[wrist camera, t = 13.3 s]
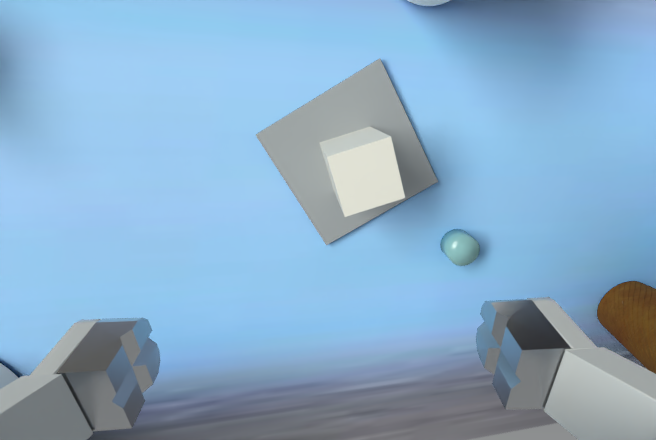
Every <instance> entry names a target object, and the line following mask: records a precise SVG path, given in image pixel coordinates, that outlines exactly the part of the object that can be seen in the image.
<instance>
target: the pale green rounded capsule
mask: <svg viewBox="0 0 656 440" xmlns="http://www.w3.org/2000/svg"><path fill="white" fill-rule="evenodd" d="M441 250H442V251H443V253H444V254H445V255H446V256H447V257H448V258H449V259H450V260H451V261H452V262H453V263H454V264H456V265H459V266H465V265H468V264H470V263H472V262H473V261H474V260H475V259H476V258H477V256H478V254H479V250H480V248H479V244H478V242H477V241H476V240H475V239H473V238H472V237H471V236H470V235H469V234H467V233H466V232H465V231H463V230H460V229H454V230H451V231H449V232H447V233H446V234H445V235H444V236H443V238H442V240H441Z"/></svg>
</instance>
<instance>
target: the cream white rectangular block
mask: <svg viewBox="0 0 656 440" xmlns="http://www.w3.org/2000/svg"><path fill="white" fill-rule="evenodd" d="M320 147H321V150H322V153H323V157H324V160H325V163H326V166H327V170H328V173H329V176H330V179H331V183H332V186H333V189H334V192H335V195H336V197H337V199H338V202H339V204H340V207H341V209H342V211H343V214H344V216H345V217H347V216H350V215H353V214H356V213H359V212H362V211H366V210H369V209H372V208H375V207H378V206H381V205H385V204H388V203H391V202H394V201H397V200H400V199H404V198H405V195H404V190H403V186H402V182H401V177H400V173H399V169H398V165H397V160H396V156H395V152H394V147H393V143H392V139H391V136H389V135H387V134H385V133H383V132H381V131H379V130H376V129H374V128H372V127H367V128H364V129H361V130H357V131H354V132H351V133H348V134H345V135H342V136H339V137H336V138H332V139H329V140H326V141H323V142H320Z"/></svg>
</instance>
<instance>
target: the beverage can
mask: <svg viewBox="0 0 656 440" xmlns="http://www.w3.org/2000/svg"><path fill="white" fill-rule="evenodd" d="M407 1H409V2H411V3H414V4H417V5H421V6H436V5H440V4H443V3H446V2H448V1H450V0H407Z"/></svg>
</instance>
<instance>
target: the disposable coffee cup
mask: <svg viewBox="0 0 656 440" xmlns="http://www.w3.org/2000/svg"><path fill="white" fill-rule="evenodd" d="M597 316H598V319H599V321H600V323H601V324H602V325H603V326H604V327H605V328H606V329H607V330H608V331H609V332H610V333H611V334H612V335H613V336H614V337H615V338H616V339H617V340H618V341H619V342H620V343H621V344H622V345H623V346H624V347H625V348H626V349H627V350H628V351H630V352H631V353H632V354H633V355H634V356H635V357H636V358H637V359H638V360H639V361H640V362H641V363H642V364H643V365H644V366H645V367H646V368H647V369H648V370H649V371H651V372H653V373H655V374H656V289H655V288H652V287H650V286H647V285H645V284H643V283H640V282H637V281H630V282H625V283H621V284H619V285H617V286H615V287H614V288H612V289H611V290H610V291H608V292H607V293H606V294H605V296H604V297H603V298H602V300H601V301H600V303H599V306H598V310H597Z"/></svg>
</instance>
